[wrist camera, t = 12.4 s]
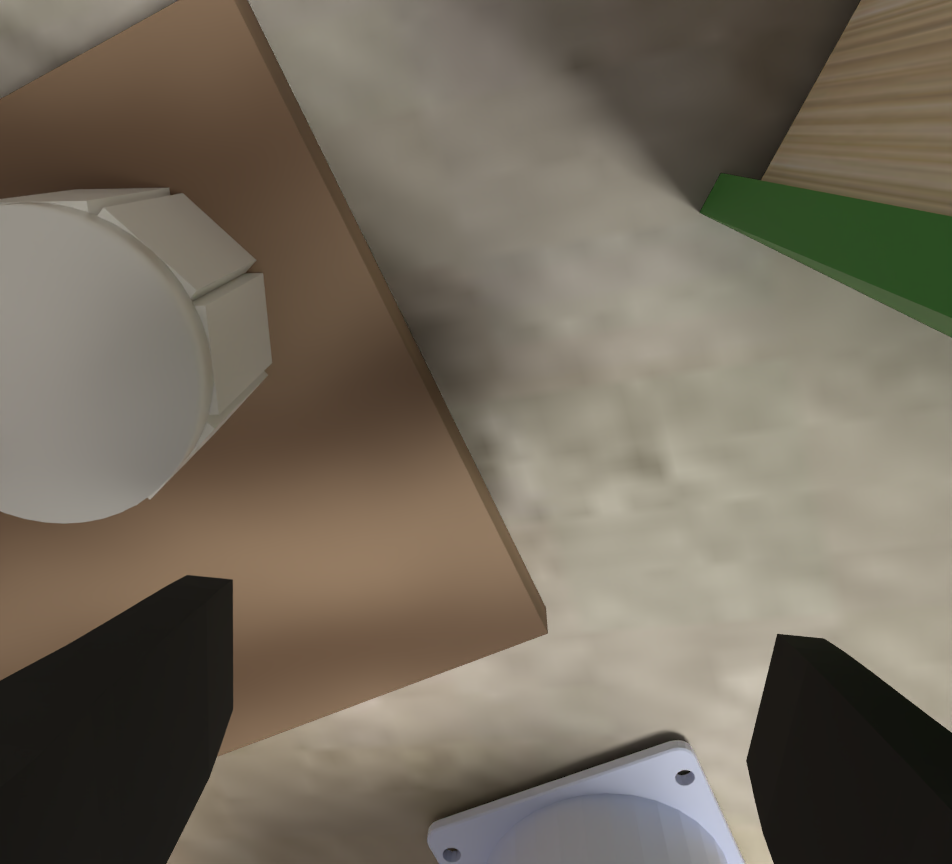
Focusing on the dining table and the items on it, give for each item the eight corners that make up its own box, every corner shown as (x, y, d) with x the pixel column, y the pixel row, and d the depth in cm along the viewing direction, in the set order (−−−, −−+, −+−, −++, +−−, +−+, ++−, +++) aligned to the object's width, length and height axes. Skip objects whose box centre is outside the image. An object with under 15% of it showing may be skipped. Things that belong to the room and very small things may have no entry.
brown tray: (545, 607, 22) (554, 711, 18) (-14, 819, 25) (-111, 947, 21) (240, -14, 18) (162, -57, 14) (-399, 337, 21) (-614, 385, 17)
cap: (113, 130, 17) (-14, 129, 13) (320, 318, 19) (264, 372, 14) (-33, 321, 19) (-189, 377, 15) (167, 485, 20) (75, 580, 16)
